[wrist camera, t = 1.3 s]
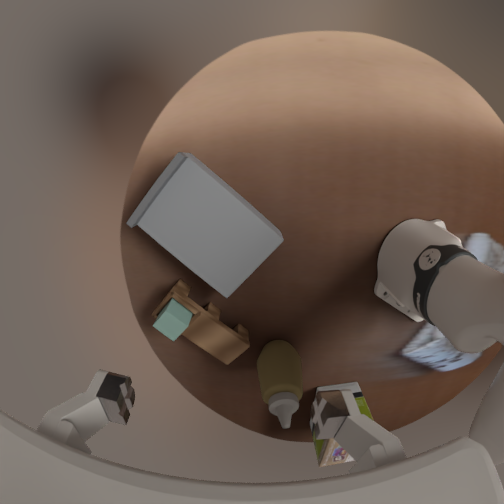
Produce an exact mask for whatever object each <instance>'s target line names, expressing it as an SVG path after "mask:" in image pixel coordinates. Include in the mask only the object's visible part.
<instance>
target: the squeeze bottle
mask: <svg viewBox="0 0 504 504" xmlns="http://www.w3.org/2000/svg"><path fill="white" fill-rule="evenodd" d="M257 371H258V376H259V382H260V388H261V394H262V399H263V400H264V402H265V403H266V404H268V405H269V411H270V412H271V413H272V414H274V415H277V416H278V418H279V421H280V423H281V426H282V428H284V429H287V428H289V427H290V423H291V417H292V414H293V413H294V412H296V411H297V410H298V409H299V400H300V399H301V398H302V395H303V384H302V367H301V358H300V356H299V354H298V352H297V351H296V350H295V349H294V348H293V347H292V345H291V344H289V343H288V342H287V341H284V340H274V341H271V342H269V343H267V344H266V345H265V346H264V348H263V349H262V351H261V353H260V355H259V357H258V359H257Z"/></svg>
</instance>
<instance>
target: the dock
mask: <svg viewBox="0 0 504 504" xmlns="http://www.w3.org/2000/svg"><path fill="white" fill-rule="evenodd" d="M126 224H127V225H129V226H130V227H131V228H132V227H134V226H136V225H138V226H139V227H140V228H142V229H143V230H144V231H145V232H146V233H147V234H149V235H150V236H151V237H152V238H153V239H154V240H156V241H157V242H158V243H159V244H160V245H161V246H163V247H164V248H165V249H166V250H167V251H169V252H170V253H171V254H172V255H173V256H175V257H176V258H177V259H178V260H179V261H181V262H182V263H183V264H184V265H186V266H187V267H188V268H189V269H190V270H192V271H193V272H194V273H195V274H197V275H198V276H199V277H200V278H202V279H203V280H204V281H205V282H207V283H208V284H209V285H210V286H212V287H213V288H214V289H216V290H217V291H218V292H219V293H221V294H222V295H223V296H225V297H226V298H228V297H229V296H230V295H231V294H232V293H233V292H234V291H235V290H236V289H237V288H238V287H239V286H240V285H241V284H242V283H243V282H244V281H245V280H246V279H247V278H248V277H249V276H250V275H251V274H252V273H253V271H254V270H255V269H256V268H257V267H258V266H259V265H260V264H261V263H262V262H263V261H264V260H265V259H266V258H267V257H268V256H269V255H270V254H271V253H272V252H273V251H274V250H275V249H276V248H277V247H278V246H279V245H280V244H281V243H282V242H283V241H284V239H283V237H282V234H281V232H280V230H279V229H278V228H276V227H275V226H274V225H273V224H272V223H271V222H270V221H269V220H268V219H266V218H265V217H264V216H263V215H262V214H261V213H260V212H259V211H257V210H256V209H255V208H254V207H253V206H252V205H251V204H250V203H248V202H247V201H246V200H245V199H244V198H243V197H242V196H240V195H239V194H238V193H237V192H236V191H235V190H233V189H232V188H231V187H230V186H229V185H228V184H227V183H225V182H224V181H223V180H222V179H221V178H220V177H218V176H217V175H216V174H215V173H214V172H213V171H211V170H210V169H209V168H208V167H207V166H205V165H204V164H203V163H202V162H201V161H199V160H198V159H197V158H196V157H195V156H194V155H192V154H191V153H182V152H178V154H177V155H176V156H175V157H174V159H173V160H172V161H171V162H170V164H169V165H168V166H167V167H166V169H165V170H164V171H163V173H162V174H161V175H160V177H159V178H158V179H157V180H156V182H155V183H154V185H153V186H152V187H151V189H150V190H149V191H148V193H147V194H146V196H145V197H144V198H143V200H142V201H141V203H140V204H139V205H138V207H137V208H136V210H135V211H134V213H133V214H132V216H131V217H130V219H129V220H128V222H127V223H126Z"/></svg>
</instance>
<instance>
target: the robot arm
mask: <svg viewBox="0 0 504 504" xmlns="http://www.w3.org/2000/svg"><path fill="white" fill-rule="evenodd" d="M377 268H378V278H377V281H376V284H375V288H374V293H375V294H376V295H377V296H378V297H379V298H381V299H382V300H384V301H386V302H387V303H389V304H390V305H392V306H393V307H395V308H396V309H398V310H399V311H401V312H402V313H404V314H405V315H407V316H409V317H410V318H412V319H413V320H415V321H416V322H420V321H422V320H426V321H427V322H429V323H430V324H432V325H434V326H436V327H437V328H438V329H439V330H440V331H441V332H442V334H443V335H444V336H445V337H446V338H447V339H448V340H449V341H450V343H451V344H452V345H453V346H454V347H455V348H456V349H457V350H458V351H461V352H464V353H478V352H481V351H483V350H485V349H487V348H488V347H490V346H491V345H492V344H494V343H495V342H496V341H497V340H498V341H499V342H501V343H502V344H503V345H504V274H503V273H501V272H498V271H496V270H494V269H492V268H490V267H488V266H487V265H485V264H483V263H481V262H479V261H478V260H477V258H476V257H475V256H474V255H473V254H471V252H469V251H468V250H466V249H465V248H463V247H462V245H461V240H460V239H459V238H458V237H456V236H455V235H453V234H452V233H450V232H448V231H447V230H446V227H445V224H444V222H443V221H441V220H439V219H436V220H432V221H425V220H421V219H410V220H407V221H404V222H402V223H401V224H399V225H397V226H396V227H395V228H394V229H393V230H392V231H391V232H390V233H389V234H388V236H387V237H386V239H385V240H384V242H383V244H382V246H381V249H380V252H379V256H378V263H377ZM384 292H386V293H385V294H384ZM131 383H132V381H131V378H130V377H127V376H124V375H119V374H116V373H112V372H108V371H104V370H101V369H100V370H98V371H97V373H96V375H95V376H94V378H93V380H92V382H91V383H90V385H89V387H88V389H87V391H86V393H81V394H79V395H77V396H75V397H73V398H72V399H70V400H68V401H66V402H64V403H62V404H60V405H58V406H57V407H55V408H53V409H51V410H49V411H47V412H46V414H45V416H44V417H43V419H42V421H41V423H40V425H39V427H38V428H37V430H35V429H33V428H31V427H29V426H27V425H26V424H24V423H22V422H20V421H18V420H17V419H15V418H14V417H12V416H10V415H9V414H7V413H5V412H4V411H3V410H1V409H0V504H504V490H503V487H502V484H501V481H500V478H499V476H498V474H497V471H496V468H495V466H494V465H500V464H503V463H504V362H503V364H502V366H501V368H500V370H499V372H498V373H497V375H496V377H495V379H494V381H493V382H492V384H491V386H490V387H489V389H488V391H487V392H486V394H485V395H484V397H483V399H482V402H481V404H480V406H479V408H478V411H477V413H476V415H475V417H474V420H473V422H472V424H471V427H470V430H469V438H467V437H465V436H462V437H458V438H456V439H454V440H451V441H449V442H448V443H445V444H443V445H440V446H438V447H436V448H433V449H431V450H428V451H426V452H423V453H420V454H418V455H415V456H412V457H409V458H407V457H406V454H405V452H404V450H403V447H402V445H401V443H400V440H399V438H397V437H396V436H394V435H393V434H391V433H390V432H388V431H387V430H386V429H384V428H383V427H381V426H380V425H378V424H377V423H376V422H374V421H373V420H371V419H370V418H369V417H367V416H366V415H364V414H361V413H360V411H359V408H358V406H357V403H356V401H355V398H354V396H353V393H352V391H351V390H350V389H342V390H328V391H318V392H317V394H316V396H315V397H316V401H314V402H313V403H312V406H311V419H312V421H313V422H314V423H315V424H316V425H315V427H314V432H315V436H316V440H318V439H330V438H334V440H335V441H336V442H337V443H338V444H339V445H340V446H341V447H342V448H343V449H344V450H345V451H346V452H347V453H348V454H349V455H350V456H351V457H352V458H353V459H354V460H356V461H357V463H356V464H355V465H354V466H353V467H352V468H351V469H350V471H349V473H350V474H345V475H339V476H333V477H327V478H320V479H313V480H303V481H291V482H276V483H234V482H217V481H206V480H197V479H189V478H182V477H176V476H169V475H164V474H159V473H154V472H150V471H145V470H141V469H137V468H133V467H129V466H126V465H122V464H119V463H115V462H112V461H109V460H106V459H102V458H100V457H97V456H94V455H91V450H90V449H89V447H88V446H87V445H86V443H85V441H86V440H88V439H89V438H90V437H91V436H93V435H94V434H95V433H96V432H98V431H99V430H100V429H102V428H103V427H104V426H105V425H106V424H108V423H109V421H111V422H115V423H119V424H123V425H126V424H127V422H128V419H129V416H130V413H129V409H131V408H132V407H133V404H134V400H135V392H134V389H133V388H132V387H131V386H130V385H131Z"/></svg>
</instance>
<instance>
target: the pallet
mask: <svg viewBox="0 0 504 504" xmlns="http://www.w3.org/2000/svg"><path fill="white" fill-rule="evenodd" d="M190 289H191V287H190V286H189V285H187V284H186V283H185V282H184V281H182V280H181V279H179V281H178V282H177V283H176V284H175V285H174V286H173V288H172V289H171V290H170V291H169V292H168V294H167V295H166V296H165V297H164V298H163V300H162V301H161V302H160V303H159V304H158V306H157V307H156V308H155V310H154V311H153V313H152V316H153V317H154V318H155V319H157V317H158V315H159V313H160V312H161V311H162V309H163V308H164V307H165V306H166V305H167V304H168V302H169V301H170V300H171V299H172V298H174V299H175V300H177V301H178V302H179V303H180V304H182V305H183V306H184V307H186V308H187V309H188V310H190V311H191V312H192V313H193V314H192V317H191V320H190V323H189V325H188V327H187V328H186V329H185V330H184V331H183V332H182V333H181V334H182V335H183V336H185V337H186V338H188V339H189V340H191V341H192V342H193V343H195V344H196V345H198V346H199V347H201V348H202V349H204V350H205V351H207V352H208V353H210V354H211V355H213V356H214V357H216V358H217V359H219V360H220V361H222V362H223V363H225V364H227V365H228V364H229V363H231V362H232V361H233V360H234V359H235V358H237V357H238V356H239V355H240V354H242V353H243V352H244V351H245V350H246V349H248V348H249V347H250V342H249V330H247V329H246V328H244V327H243V326H242V325H240V324H238V325H237V326H235V327H234V328H233V329H230V328H229V327H228V326H226V325H225V324H223V323H222V322H221V321H219V317H220V312H221V310H220V309H219V308H217V307H216V306H215V305H213V304H212V303H211V302H210V303H209V304H208V305H207V306H206V307H205V308H204V309H203V308H202V307H201V306H199V305H198V304H197V303H195V302H194V301H193V300H191V299H190V298H189V297H187V296H188V294H189V291H190ZM181 334H180V335H181ZM180 335H179V336H180Z"/></svg>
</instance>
